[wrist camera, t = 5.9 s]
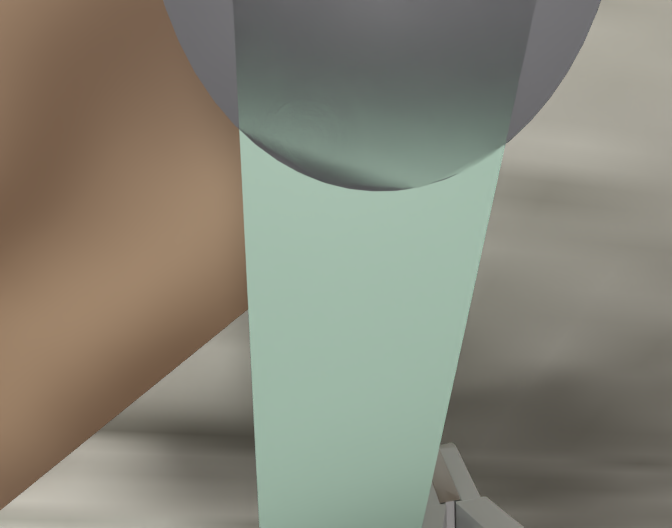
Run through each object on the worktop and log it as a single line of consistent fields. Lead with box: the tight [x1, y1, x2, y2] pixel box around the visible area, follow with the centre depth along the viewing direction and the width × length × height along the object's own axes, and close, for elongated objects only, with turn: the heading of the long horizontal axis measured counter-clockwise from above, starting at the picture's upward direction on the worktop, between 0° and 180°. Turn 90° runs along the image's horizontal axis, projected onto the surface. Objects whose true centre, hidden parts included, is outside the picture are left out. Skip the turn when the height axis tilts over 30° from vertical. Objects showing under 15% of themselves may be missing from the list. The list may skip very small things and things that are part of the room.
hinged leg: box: [163, 0, 601, 528], centre depth 7 cm, size 17×4×4 cm, turn 177°
